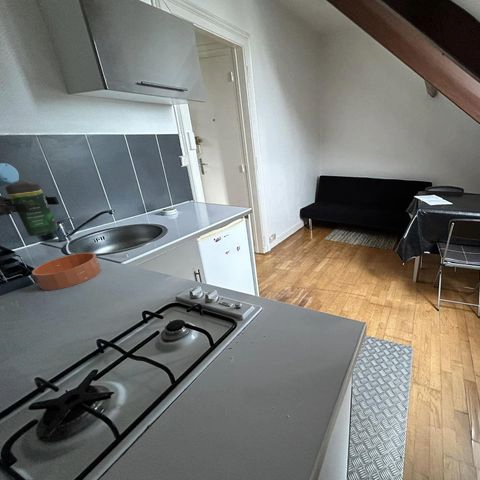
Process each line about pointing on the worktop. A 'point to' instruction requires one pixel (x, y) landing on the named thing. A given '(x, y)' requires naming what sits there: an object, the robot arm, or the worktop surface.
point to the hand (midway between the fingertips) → (42, 203)
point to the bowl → (66, 271)
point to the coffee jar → (33, 207)
